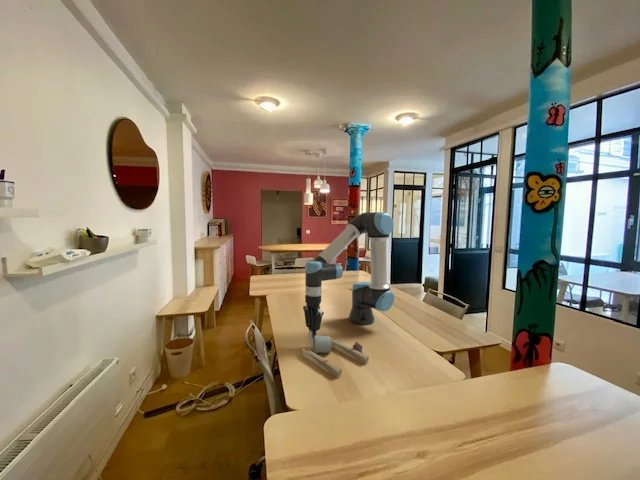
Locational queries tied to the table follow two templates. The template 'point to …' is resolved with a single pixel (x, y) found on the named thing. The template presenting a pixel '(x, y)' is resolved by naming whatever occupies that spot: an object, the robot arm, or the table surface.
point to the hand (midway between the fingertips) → (312, 343)
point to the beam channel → (352, 352)
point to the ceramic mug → (322, 344)
